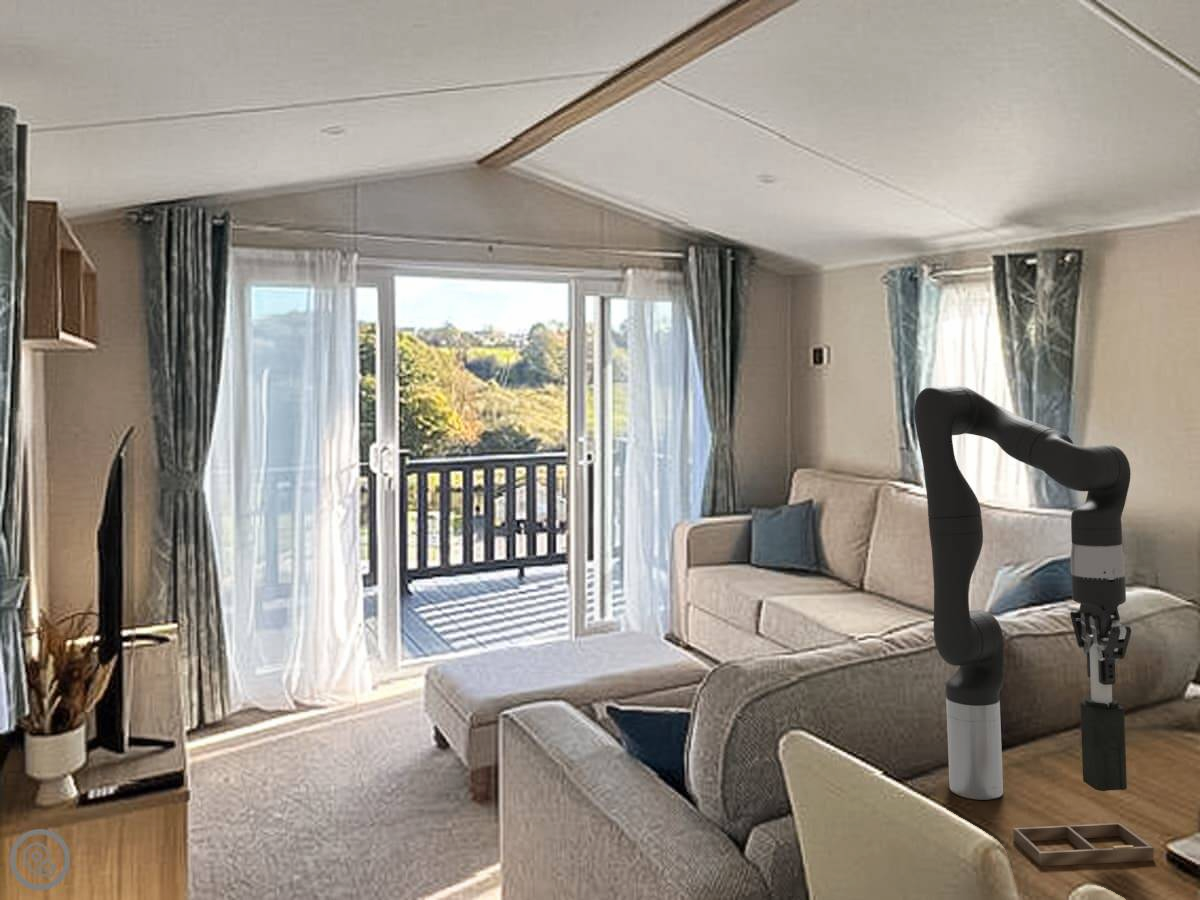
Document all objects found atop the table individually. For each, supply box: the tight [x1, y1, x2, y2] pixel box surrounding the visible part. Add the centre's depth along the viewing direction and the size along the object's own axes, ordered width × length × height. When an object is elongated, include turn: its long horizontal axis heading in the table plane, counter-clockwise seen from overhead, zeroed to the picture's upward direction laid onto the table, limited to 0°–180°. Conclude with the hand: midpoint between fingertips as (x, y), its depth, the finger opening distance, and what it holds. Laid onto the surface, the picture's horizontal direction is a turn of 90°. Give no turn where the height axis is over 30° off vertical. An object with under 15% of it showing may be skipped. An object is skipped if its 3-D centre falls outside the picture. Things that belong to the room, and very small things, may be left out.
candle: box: [1079, 638, 1128, 792], centre depth 146 cm, size 5×5×25 cm
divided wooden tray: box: [1012, 822, 1155, 867], centre depth 146 cm, size 18×9×2 cm, turn 91°
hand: (1101, 680), depth 145 cm, fingers closed on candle, 2 cm apart
